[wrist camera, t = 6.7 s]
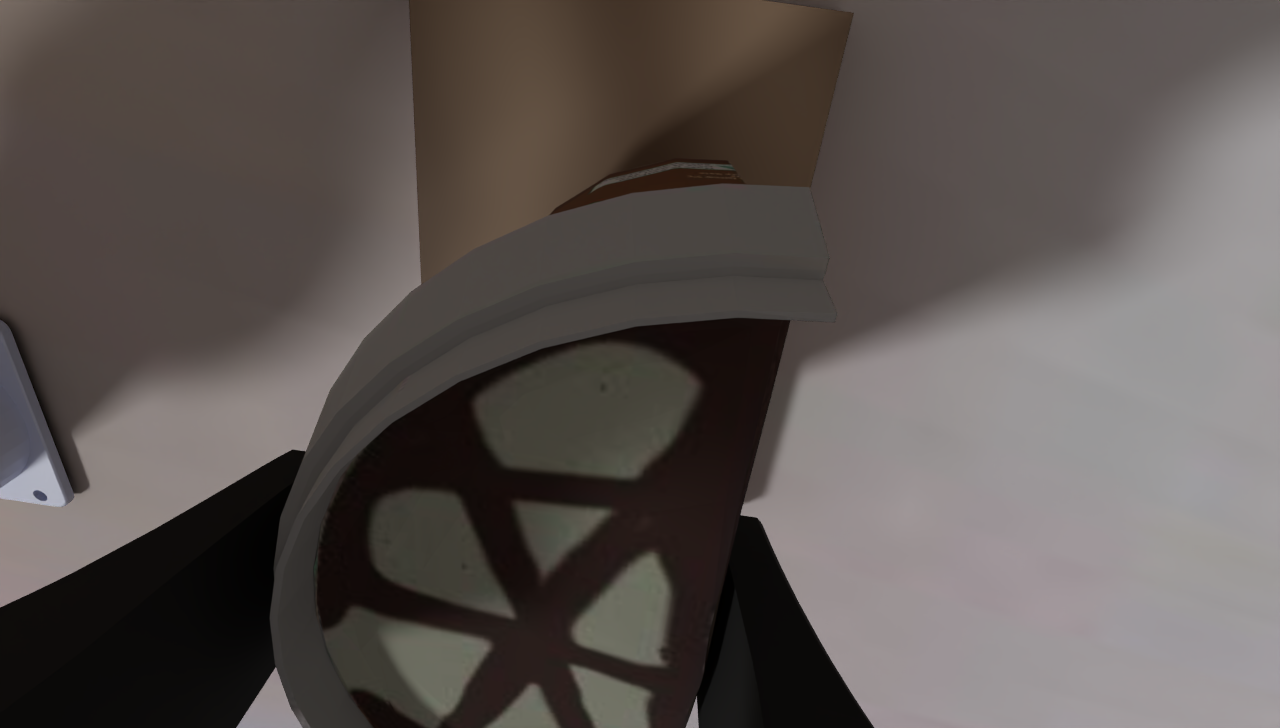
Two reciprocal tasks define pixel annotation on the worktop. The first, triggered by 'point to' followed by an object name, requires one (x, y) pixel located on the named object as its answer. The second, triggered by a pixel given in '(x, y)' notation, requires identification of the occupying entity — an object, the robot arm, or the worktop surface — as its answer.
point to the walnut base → (605, 101)
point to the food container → (546, 464)
